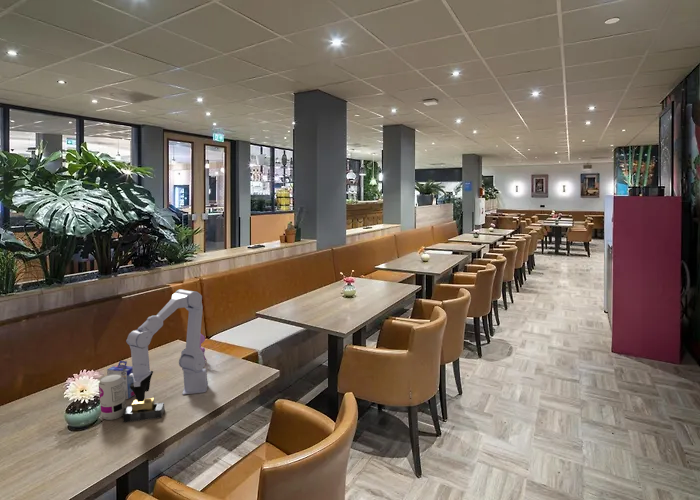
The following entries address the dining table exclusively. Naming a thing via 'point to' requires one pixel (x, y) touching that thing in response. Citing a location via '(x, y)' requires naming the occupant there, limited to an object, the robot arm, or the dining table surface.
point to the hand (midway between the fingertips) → (143, 396)
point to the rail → (143, 413)
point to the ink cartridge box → (124, 377)
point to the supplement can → (112, 396)
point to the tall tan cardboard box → (143, 405)
